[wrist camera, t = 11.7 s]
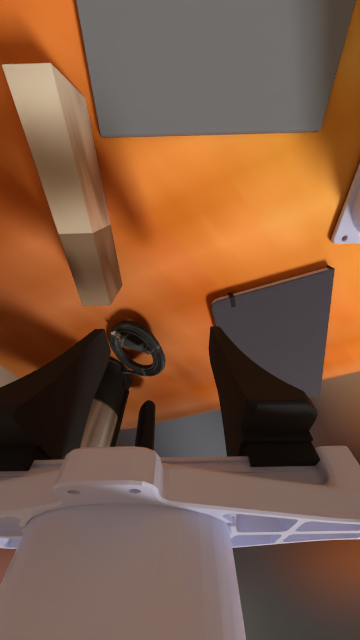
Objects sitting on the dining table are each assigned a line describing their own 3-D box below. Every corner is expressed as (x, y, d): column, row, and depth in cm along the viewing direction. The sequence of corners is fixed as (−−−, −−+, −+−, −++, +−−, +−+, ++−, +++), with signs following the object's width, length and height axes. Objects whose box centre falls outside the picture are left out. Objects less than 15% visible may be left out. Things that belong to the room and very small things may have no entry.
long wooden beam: (122, 285, 21) (110, 305, 18) (99, 285, 21) (82, 305, 18) (85, 98, 14) (50, 62, 10) (49, 99, 14) (1, 64, 10)
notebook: (314, 387, 32) (325, 263, 21) (320, 395, 31) (335, 268, 19) (236, 402, 34) (208, 296, 23) (238, 410, 33) (209, 303, 21)
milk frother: (73, 394, 32) (6, 525, 19) (47, 309, 23) (-107, 448, 11) (162, 398, 32) (152, 527, 20) (168, 318, 24) (158, 457, 11)
